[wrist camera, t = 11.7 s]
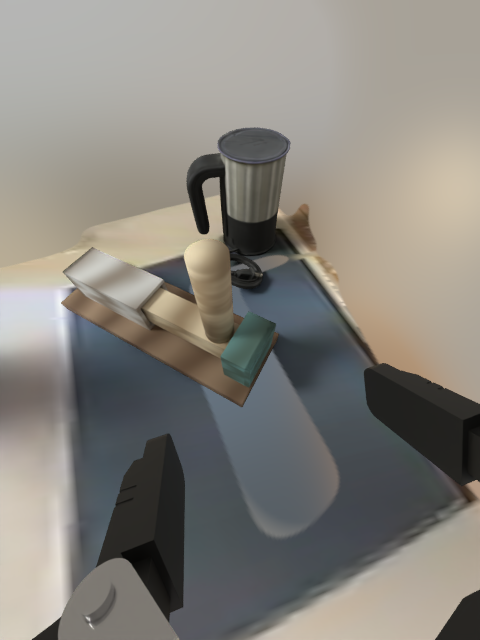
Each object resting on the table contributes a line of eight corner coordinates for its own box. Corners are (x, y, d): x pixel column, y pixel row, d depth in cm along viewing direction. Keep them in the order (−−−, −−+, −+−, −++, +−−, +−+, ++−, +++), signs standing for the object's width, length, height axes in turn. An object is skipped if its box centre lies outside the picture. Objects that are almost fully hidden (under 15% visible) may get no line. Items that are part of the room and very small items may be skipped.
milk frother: (260, 215, 46) (267, 120, 34) (308, 270, 39) (340, 176, 26) (190, 238, 43) (168, 143, 30) (228, 303, 36) (219, 214, 23)
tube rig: (67, 308, 35) (31, 276, 29) (115, 264, 40) (93, 228, 34) (242, 407, 28) (241, 391, 22) (277, 339, 33) (285, 310, 27)
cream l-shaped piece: (127, 310, 32) (54, 211, 20) (144, 292, 34) (86, 189, 21) (246, 372, 28) (249, 294, 15) (259, 348, 29) (272, 259, 17)
